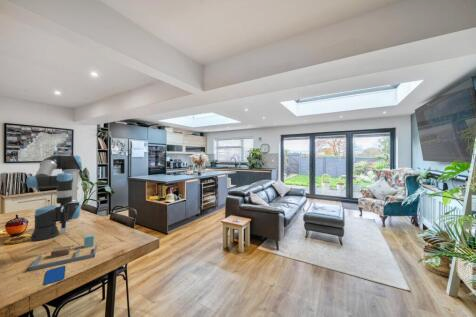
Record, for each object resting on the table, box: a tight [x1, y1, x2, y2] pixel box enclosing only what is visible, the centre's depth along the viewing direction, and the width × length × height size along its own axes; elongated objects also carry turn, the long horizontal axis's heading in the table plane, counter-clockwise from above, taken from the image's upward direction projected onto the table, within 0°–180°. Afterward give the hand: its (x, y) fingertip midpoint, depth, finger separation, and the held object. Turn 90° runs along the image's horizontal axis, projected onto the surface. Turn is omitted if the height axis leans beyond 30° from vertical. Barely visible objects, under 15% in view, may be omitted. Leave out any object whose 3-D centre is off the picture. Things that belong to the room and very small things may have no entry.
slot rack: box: [28, 244, 98, 272], centre depth 113 cm, size 14×28×2 cm, turn 122°
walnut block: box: [50, 245, 71, 259], centre depth 117 cm, size 4×8×5 cm
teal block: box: [83, 233, 95, 249], centre depth 129 cm, size 5×5×7 cm
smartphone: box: [43, 265, 66, 286], centre depth 96 cm, size 7×1×15 cm
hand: (64, 231), depth 123 cm, fingers closed
